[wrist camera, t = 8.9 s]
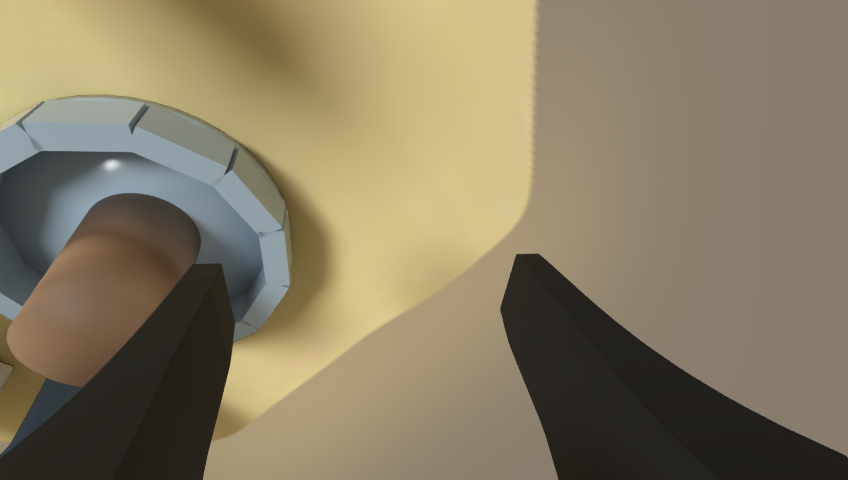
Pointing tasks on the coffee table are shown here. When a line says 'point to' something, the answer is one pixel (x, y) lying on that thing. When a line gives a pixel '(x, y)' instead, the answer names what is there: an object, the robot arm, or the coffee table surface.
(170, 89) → the coffee table surface
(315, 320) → the coffee table surface
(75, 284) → the brown cylinder
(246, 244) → the round tray
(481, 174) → the coffee table surface
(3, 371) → the skincare box
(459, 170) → the coffee table surface
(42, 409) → the vaping device
